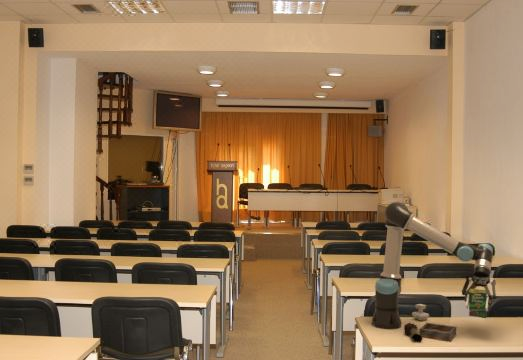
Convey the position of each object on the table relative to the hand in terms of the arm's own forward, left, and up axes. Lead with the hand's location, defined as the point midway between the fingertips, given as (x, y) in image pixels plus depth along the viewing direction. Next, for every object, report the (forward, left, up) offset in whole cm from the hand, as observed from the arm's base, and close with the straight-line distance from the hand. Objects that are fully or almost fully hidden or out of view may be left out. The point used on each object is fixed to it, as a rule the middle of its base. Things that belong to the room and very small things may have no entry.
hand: (476, 308), depth 238 cm
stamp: (-32, +22, -15) cm, 42 cm away
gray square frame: (-17, -4, -15) cm, 23 cm away
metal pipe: (-27, -13, -15) cm, 34 cm away
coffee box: (0, +3, -5) cm, 6 cm away
